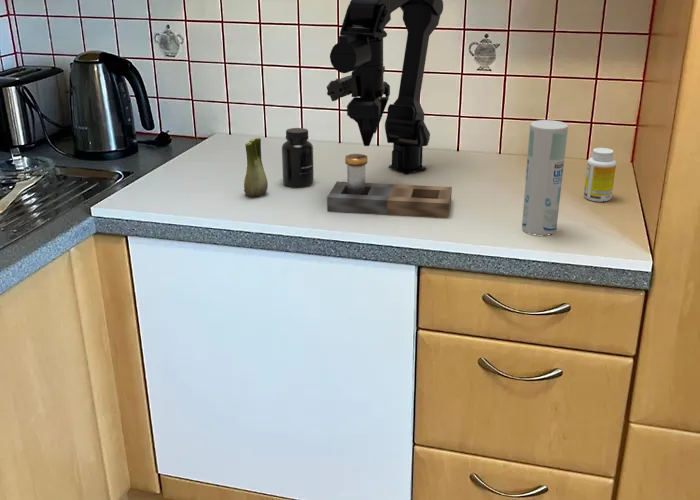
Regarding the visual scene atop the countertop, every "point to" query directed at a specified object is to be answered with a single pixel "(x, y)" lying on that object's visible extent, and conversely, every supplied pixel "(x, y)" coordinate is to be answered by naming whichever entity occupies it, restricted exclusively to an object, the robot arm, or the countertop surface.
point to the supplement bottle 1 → (297, 159)
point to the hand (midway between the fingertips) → (370, 139)
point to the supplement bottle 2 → (600, 175)
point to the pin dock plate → (392, 200)
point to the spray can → (544, 176)
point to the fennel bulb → (254, 170)
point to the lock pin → (356, 173)
